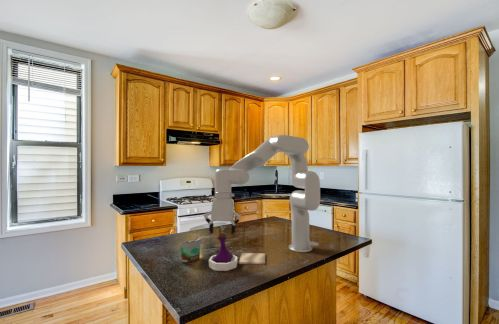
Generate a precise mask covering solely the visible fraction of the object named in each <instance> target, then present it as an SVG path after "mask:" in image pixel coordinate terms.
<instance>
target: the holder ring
mask: <svg viewBox="0 0 499 324" xmlns="http://www.w3.org/2000/svg"><path fill="white" fill-rule="evenodd" d="M216 255H217V254H214V255H211V256H210V258H209V259H208V268H209V269H211V270H213V271H217V272H221V271H223V272H227V271H230V270H235V269H236V268H237V267H238V256H236V255H234V254H232V255H233V257H232V259H231V261H230V262H228V263H216V262H214V261H213V259H214V258H215V257H216Z"/></svg>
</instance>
